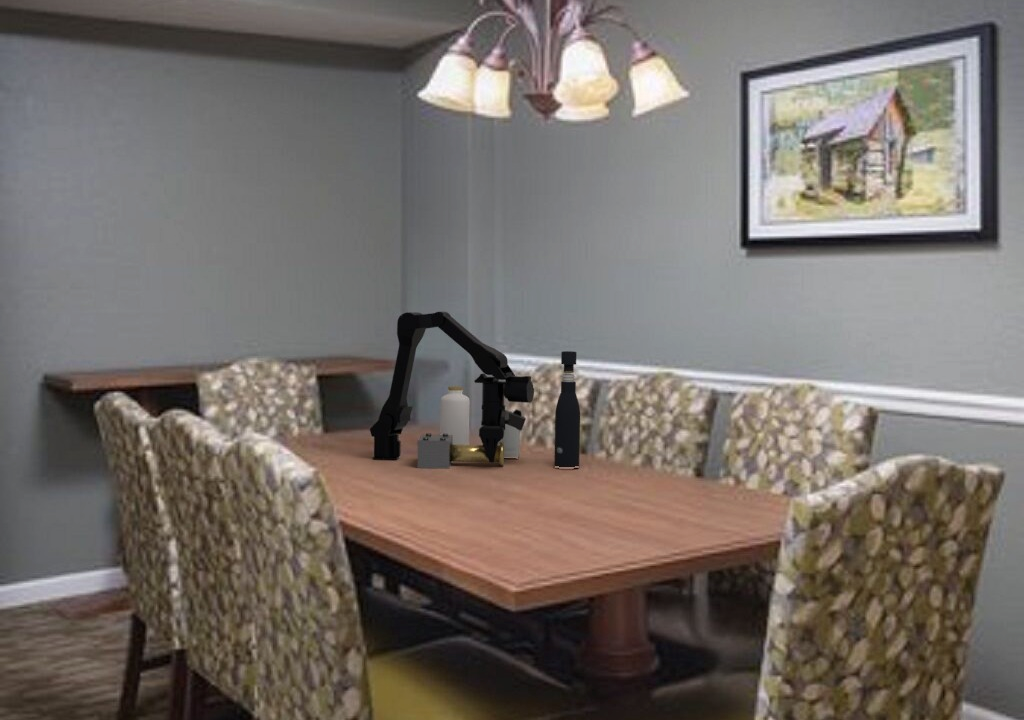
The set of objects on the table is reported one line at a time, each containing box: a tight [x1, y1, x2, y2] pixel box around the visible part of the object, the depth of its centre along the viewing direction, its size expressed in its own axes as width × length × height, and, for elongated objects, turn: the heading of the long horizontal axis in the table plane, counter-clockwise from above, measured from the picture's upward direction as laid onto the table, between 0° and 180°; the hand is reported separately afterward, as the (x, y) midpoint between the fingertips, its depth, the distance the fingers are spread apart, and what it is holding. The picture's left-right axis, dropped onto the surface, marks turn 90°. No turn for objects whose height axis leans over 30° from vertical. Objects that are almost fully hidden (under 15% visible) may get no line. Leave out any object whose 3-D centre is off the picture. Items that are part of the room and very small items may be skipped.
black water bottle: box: [553, 350, 581, 467], centre depth 290 cm, size 6×6×30 cm
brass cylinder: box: [450, 442, 505, 466], centre depth 292 cm, size 16×6×6 cm, turn 89°
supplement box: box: [497, 410, 521, 458], centre depth 308 cm, size 7×7×13 cm
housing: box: [417, 432, 453, 469], centre depth 293 cm, size 8×12×8 cm, turn 179°
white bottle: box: [439, 386, 471, 445], centre depth 321 cm, size 8×8×18 cm
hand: (491, 460), depth 292 cm, fingers closed on brass cylinder, 4 cm apart
